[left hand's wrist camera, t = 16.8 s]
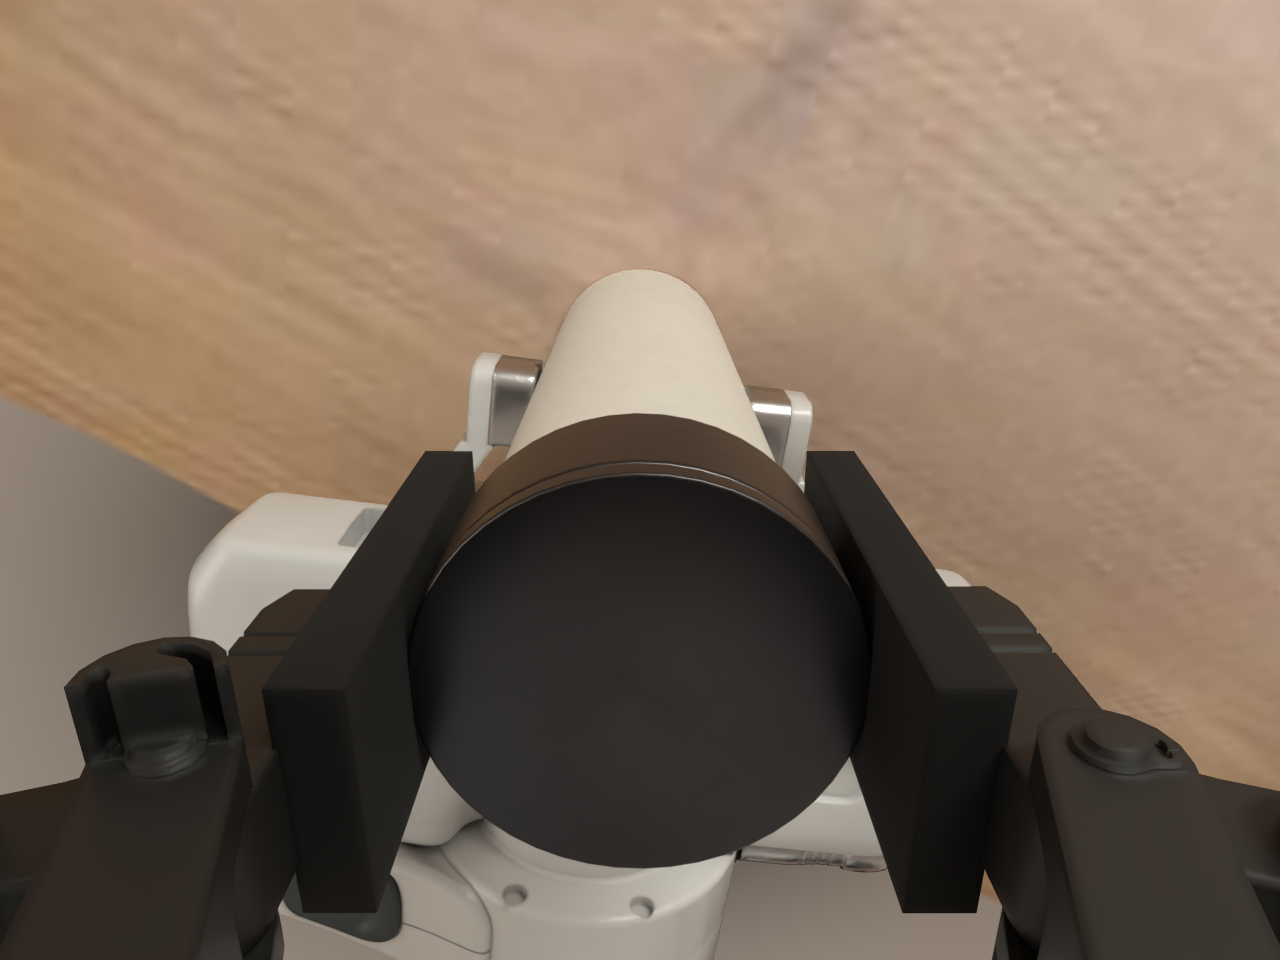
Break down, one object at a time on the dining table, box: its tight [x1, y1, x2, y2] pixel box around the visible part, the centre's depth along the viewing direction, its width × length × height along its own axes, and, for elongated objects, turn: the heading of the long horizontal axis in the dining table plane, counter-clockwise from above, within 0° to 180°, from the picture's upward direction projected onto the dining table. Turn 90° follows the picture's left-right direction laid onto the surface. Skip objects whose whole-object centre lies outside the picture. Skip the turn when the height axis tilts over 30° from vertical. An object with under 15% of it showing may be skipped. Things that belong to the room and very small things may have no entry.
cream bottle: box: [504, 269, 775, 462], centre depth 19 cm, size 5×5×17 cm
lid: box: [408, 413, 872, 869], centre depth 11 cm, size 6×5×2 cm
